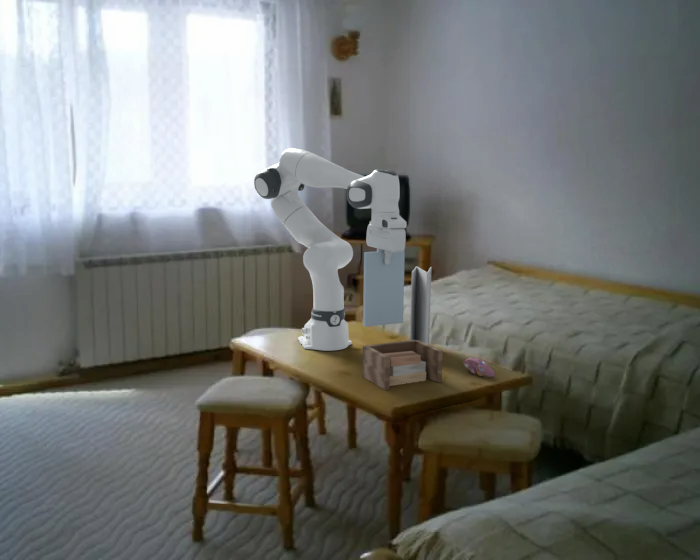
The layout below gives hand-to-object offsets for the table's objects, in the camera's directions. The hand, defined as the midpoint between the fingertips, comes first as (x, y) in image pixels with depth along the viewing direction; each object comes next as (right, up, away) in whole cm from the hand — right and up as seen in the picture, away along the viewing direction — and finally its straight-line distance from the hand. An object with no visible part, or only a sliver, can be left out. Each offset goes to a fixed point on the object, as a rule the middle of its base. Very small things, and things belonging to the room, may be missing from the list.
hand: (384, 263), depth 235 cm
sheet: (0, -20, +3) cm, 20 cm away
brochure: (+14, -31, +27) cm, 44 cm away
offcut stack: (+5, -37, -7) cm, 38 cm away
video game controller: (+30, -36, 0) cm, 47 cm away
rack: (+5, -36, -5) cm, 37 cm away
